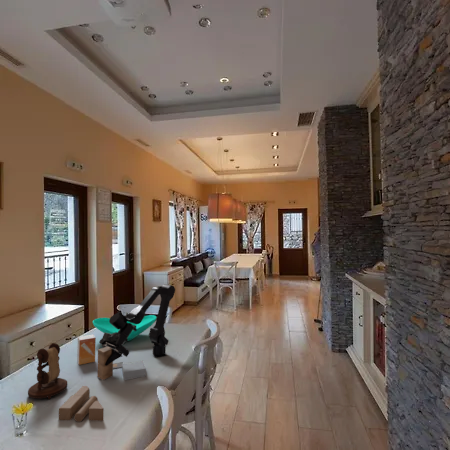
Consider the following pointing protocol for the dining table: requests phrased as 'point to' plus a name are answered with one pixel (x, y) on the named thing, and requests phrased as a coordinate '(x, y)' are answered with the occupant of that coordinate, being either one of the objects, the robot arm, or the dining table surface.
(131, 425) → the dining table surface
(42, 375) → the scroll
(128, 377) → the slate block
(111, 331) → the table top decor
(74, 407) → the wooden block set
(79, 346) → the small box
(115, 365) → the card
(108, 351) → the walnut column
